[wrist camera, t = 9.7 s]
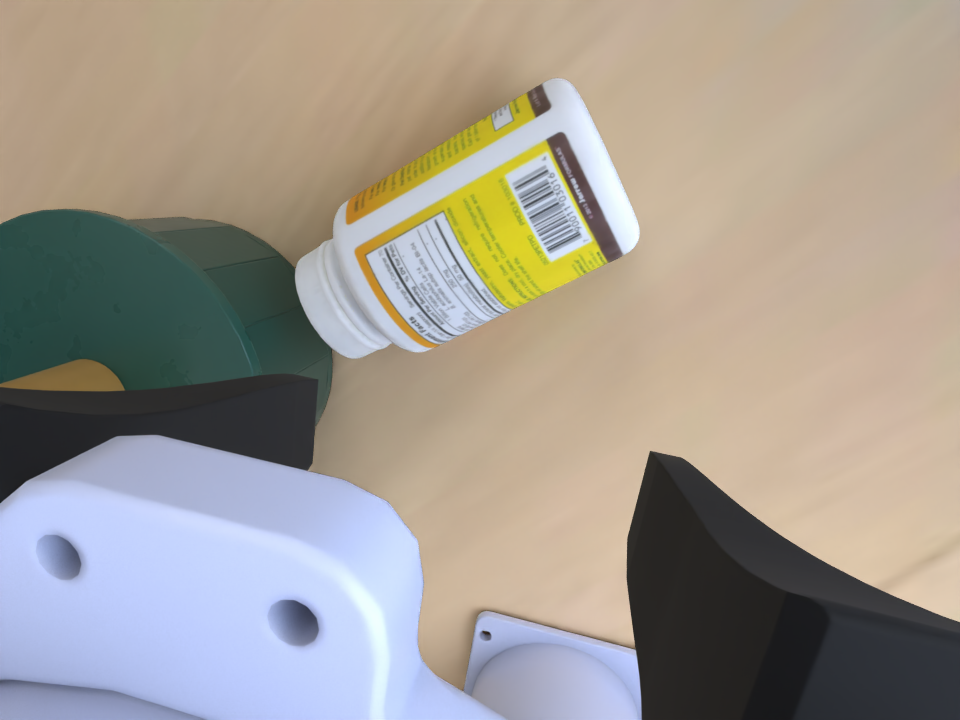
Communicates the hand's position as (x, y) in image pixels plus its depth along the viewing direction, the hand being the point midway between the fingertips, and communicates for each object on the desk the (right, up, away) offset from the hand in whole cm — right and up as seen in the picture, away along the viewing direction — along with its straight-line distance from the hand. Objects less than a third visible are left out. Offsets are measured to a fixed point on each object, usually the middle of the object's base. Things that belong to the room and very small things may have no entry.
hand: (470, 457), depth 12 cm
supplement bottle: (+4, +8, +5) cm, 10 cm away
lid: (-12, +1, +7) cm, 14 cm away
